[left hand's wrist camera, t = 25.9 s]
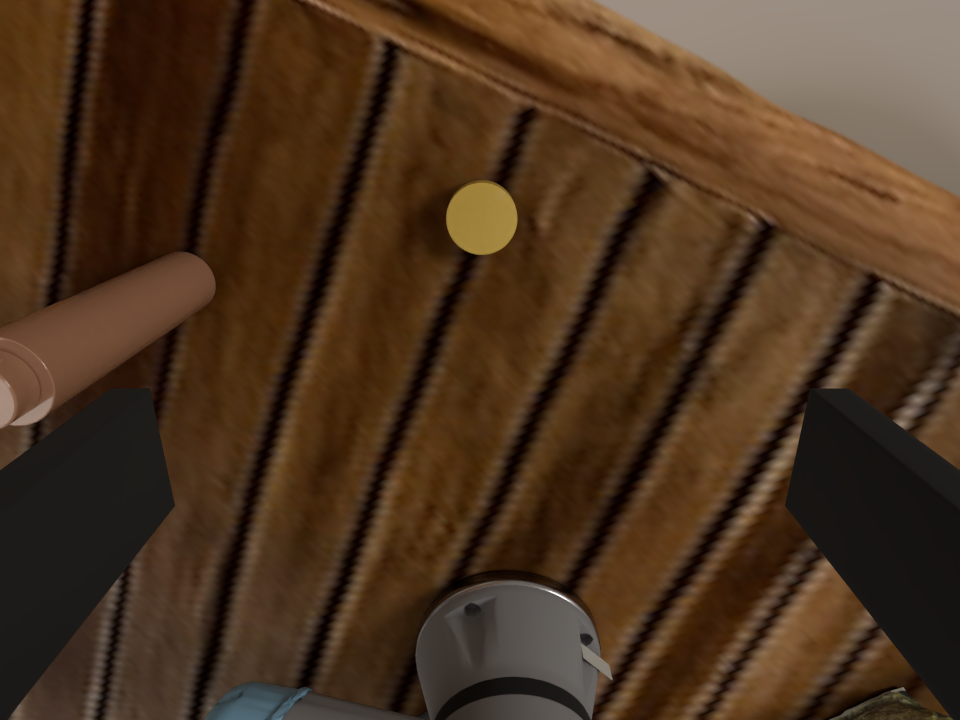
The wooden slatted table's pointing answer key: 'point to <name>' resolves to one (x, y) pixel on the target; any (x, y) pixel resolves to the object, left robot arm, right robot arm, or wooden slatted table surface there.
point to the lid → (481, 217)
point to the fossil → (891, 709)
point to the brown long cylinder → (95, 333)
